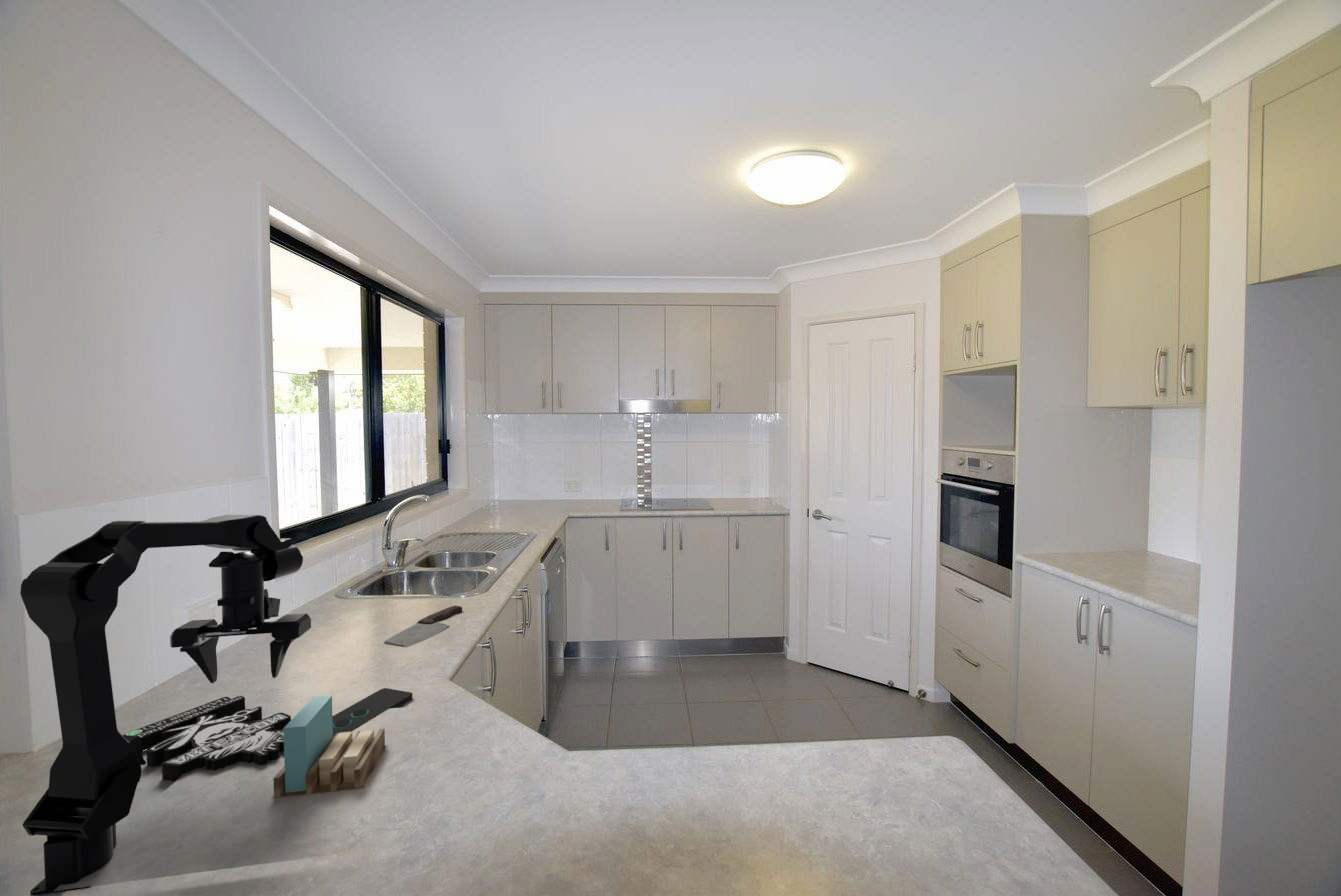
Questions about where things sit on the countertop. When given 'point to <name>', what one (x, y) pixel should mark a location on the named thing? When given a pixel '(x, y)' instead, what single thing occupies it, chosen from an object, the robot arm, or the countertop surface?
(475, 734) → the countertop surface
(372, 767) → the rack
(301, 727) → the block
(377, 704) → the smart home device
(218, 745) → the sign
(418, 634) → the cleaver
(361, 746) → the offcut front
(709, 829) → the countertop surface
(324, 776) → the block
